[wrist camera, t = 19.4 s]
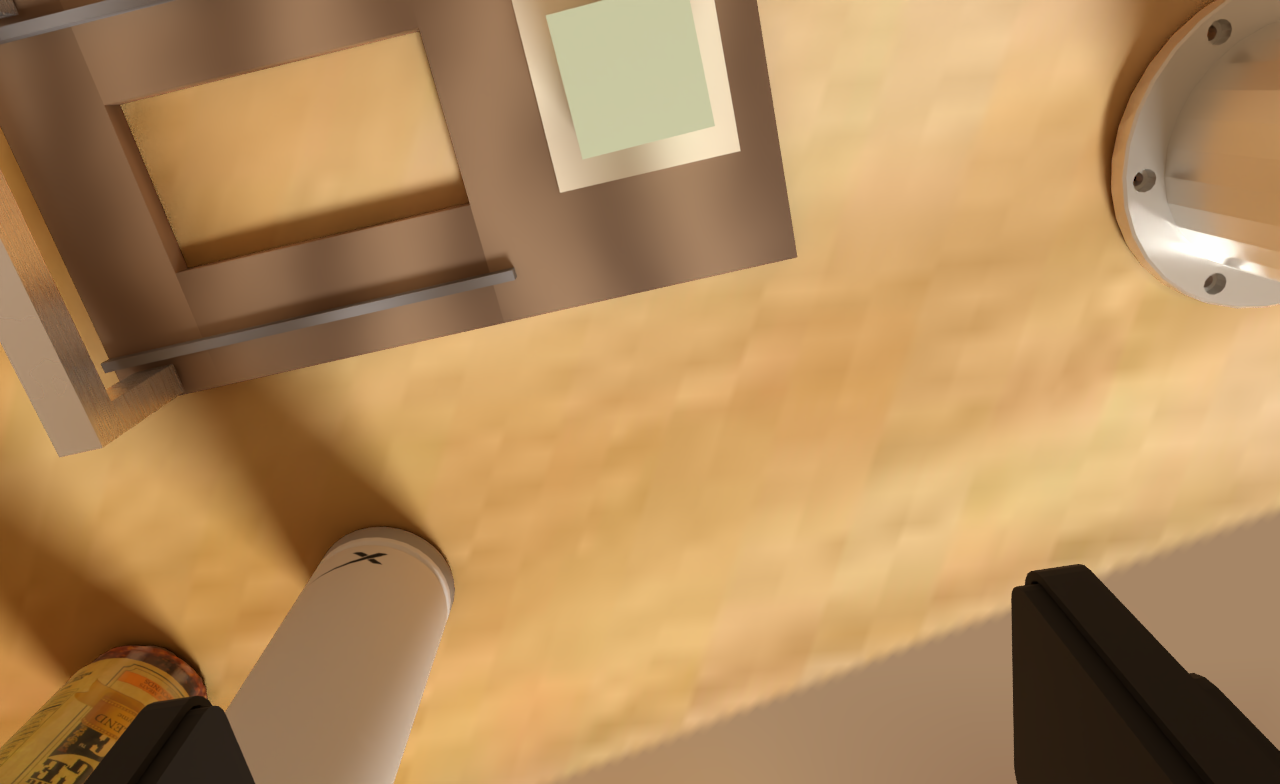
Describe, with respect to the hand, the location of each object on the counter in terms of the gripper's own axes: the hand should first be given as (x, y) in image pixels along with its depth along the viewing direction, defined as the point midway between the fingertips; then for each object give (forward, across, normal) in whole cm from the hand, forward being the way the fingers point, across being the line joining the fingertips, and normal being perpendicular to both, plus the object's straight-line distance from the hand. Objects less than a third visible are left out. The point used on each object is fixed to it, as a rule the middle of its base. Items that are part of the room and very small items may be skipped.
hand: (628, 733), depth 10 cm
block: (+25, -1, -8) cm, 26 cm away
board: (+26, +8, -7) cm, 28 cm away
